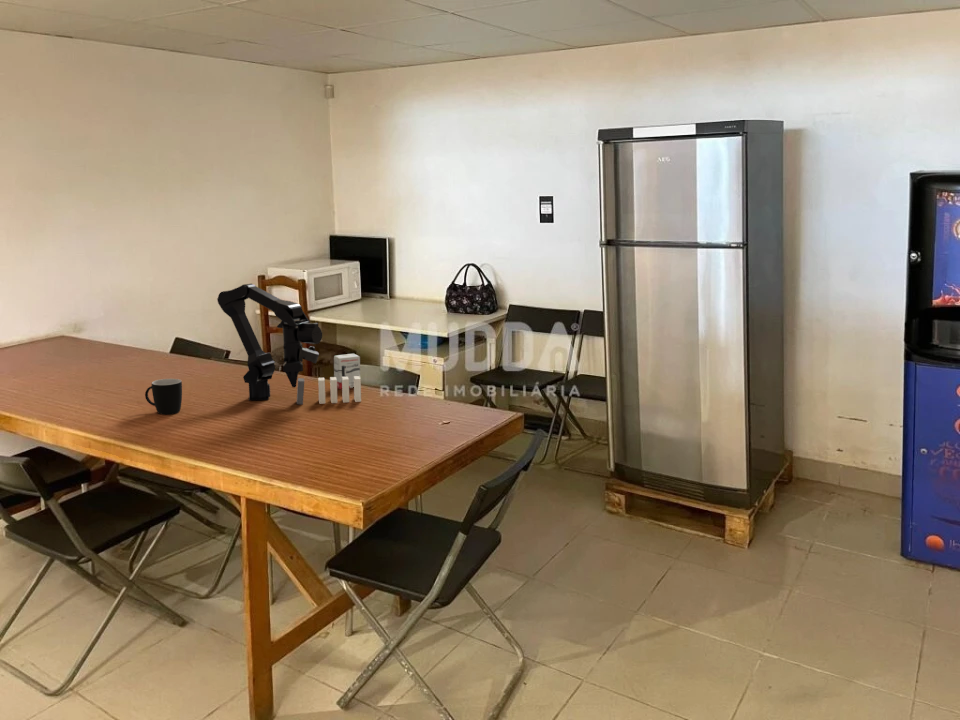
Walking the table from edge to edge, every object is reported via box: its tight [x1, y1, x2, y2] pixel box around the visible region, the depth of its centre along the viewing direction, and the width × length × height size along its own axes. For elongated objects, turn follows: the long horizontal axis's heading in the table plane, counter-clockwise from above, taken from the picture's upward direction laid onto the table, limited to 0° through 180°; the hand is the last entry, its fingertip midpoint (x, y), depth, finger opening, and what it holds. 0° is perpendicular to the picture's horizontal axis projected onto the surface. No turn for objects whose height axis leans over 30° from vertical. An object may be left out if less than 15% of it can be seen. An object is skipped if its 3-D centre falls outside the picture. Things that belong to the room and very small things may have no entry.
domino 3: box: [329, 376, 338, 404], centre depth 265 cm, size 2×4×8 cm, turn 14°
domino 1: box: [296, 377, 305, 406], centre depth 262 cm, size 2×4×8 cm, turn 14°
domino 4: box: [341, 377, 350, 404], centre depth 266 cm, size 2×4×8 cm, turn 14°
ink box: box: [333, 353, 361, 390], centre depth 285 cm, size 8×5×12 cm, turn 124°
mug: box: [144, 378, 183, 416], centre depth 249 cm, size 12×9×10 cm
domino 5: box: [353, 375, 362, 403], centre depth 267 cm, size 2×4×8 cm, turn 14°
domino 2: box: [317, 377, 326, 405], centre depth 264 cm, size 2×4×8 cm, turn 14°
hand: (294, 387), depth 261 cm, fingers closed
